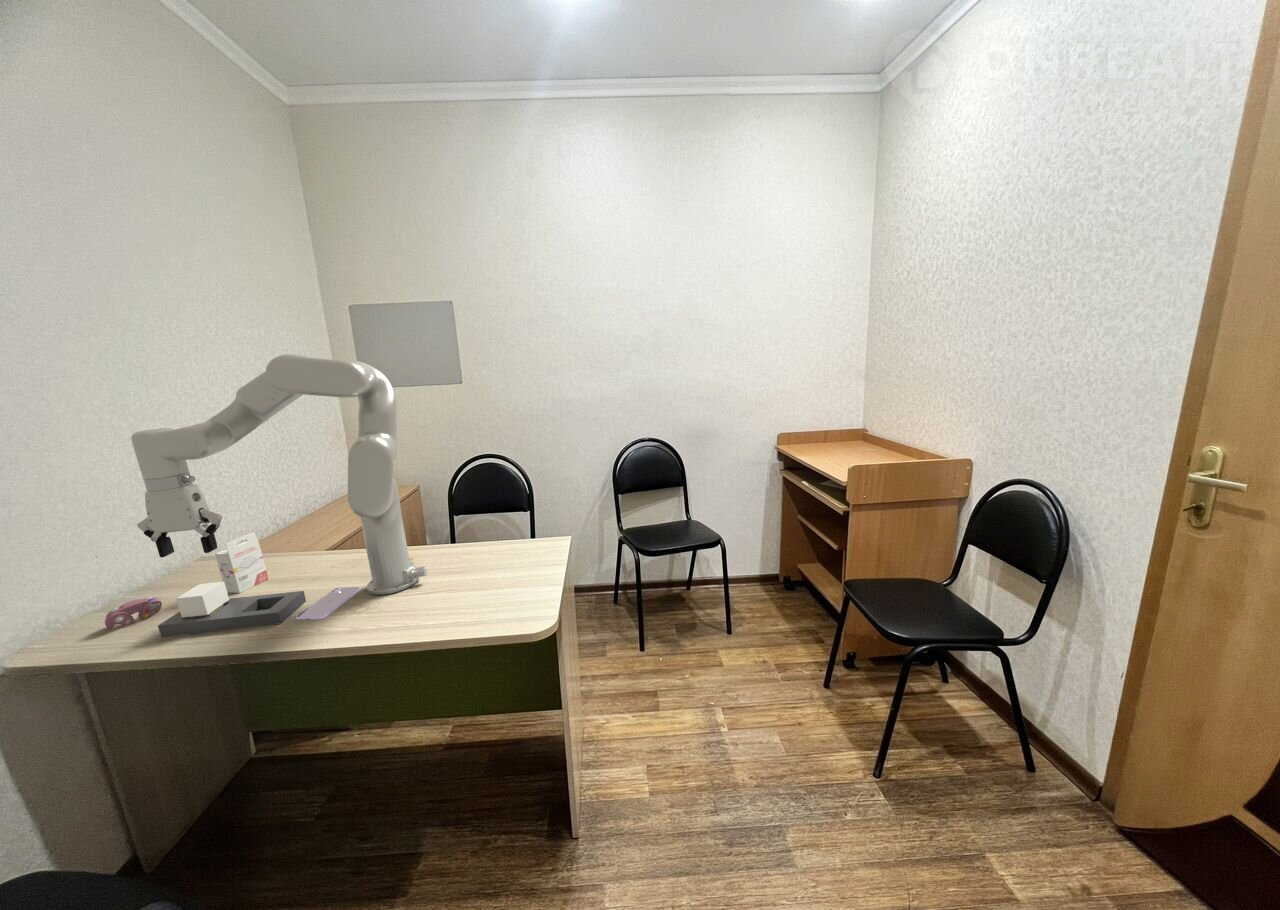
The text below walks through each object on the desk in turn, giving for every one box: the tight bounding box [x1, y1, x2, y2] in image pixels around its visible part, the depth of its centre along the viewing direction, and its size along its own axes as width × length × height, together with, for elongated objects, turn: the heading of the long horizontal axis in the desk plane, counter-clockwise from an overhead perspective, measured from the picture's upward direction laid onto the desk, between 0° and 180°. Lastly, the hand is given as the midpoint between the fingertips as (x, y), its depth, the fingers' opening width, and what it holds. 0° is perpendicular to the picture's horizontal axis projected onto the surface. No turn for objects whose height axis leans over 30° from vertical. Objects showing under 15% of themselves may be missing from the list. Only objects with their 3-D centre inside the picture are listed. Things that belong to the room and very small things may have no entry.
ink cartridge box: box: [214, 532, 269, 594], centre depth 131 cm, size 9×5×15 cm, turn 168°
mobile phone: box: [295, 586, 362, 621], centre depth 120 cm, size 8×1×15 cm
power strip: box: [157, 590, 307, 638], centre depth 115 cm, size 26×10×4 cm, turn 97°
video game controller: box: [104, 595, 163, 630], centre depth 116 cm, size 10×5×7 cm, turn 149°
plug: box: [175, 581, 230, 618], centre depth 113 cm, size 6×7×8 cm
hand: (189, 552), depth 110 cm, fingers open, 9 cm apart
